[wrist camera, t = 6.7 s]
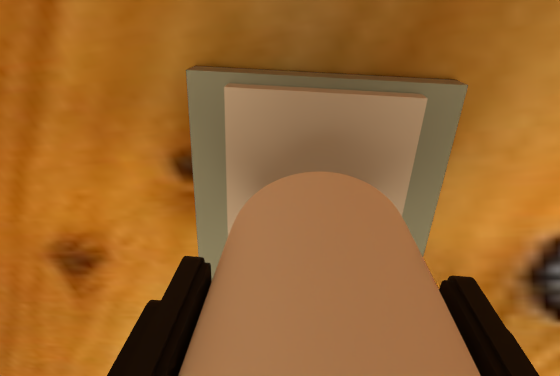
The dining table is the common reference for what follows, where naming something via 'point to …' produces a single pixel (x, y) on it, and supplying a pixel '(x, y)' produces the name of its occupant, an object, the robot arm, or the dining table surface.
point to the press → (316, 139)
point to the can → (324, 290)
